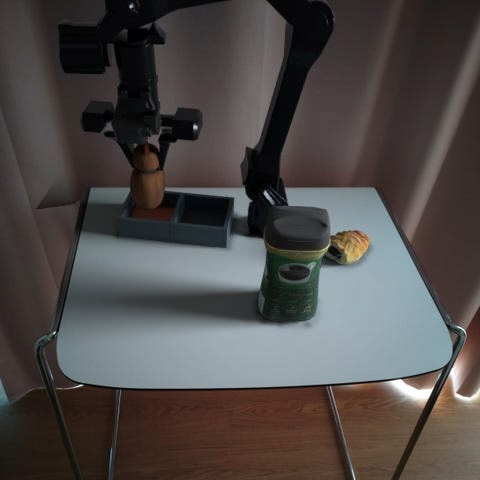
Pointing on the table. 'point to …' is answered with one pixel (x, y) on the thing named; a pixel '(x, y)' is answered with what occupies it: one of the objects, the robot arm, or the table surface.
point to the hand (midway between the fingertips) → (147, 168)
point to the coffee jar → (293, 262)
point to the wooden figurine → (147, 177)
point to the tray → (179, 219)
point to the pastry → (347, 246)
